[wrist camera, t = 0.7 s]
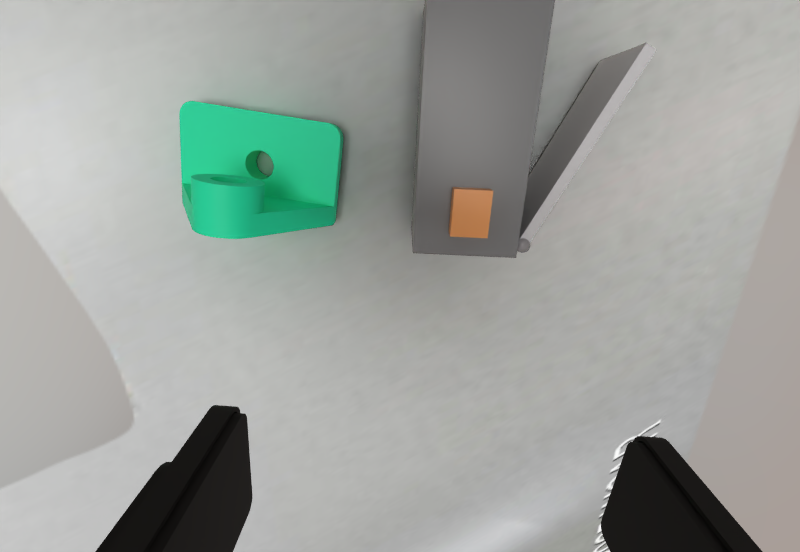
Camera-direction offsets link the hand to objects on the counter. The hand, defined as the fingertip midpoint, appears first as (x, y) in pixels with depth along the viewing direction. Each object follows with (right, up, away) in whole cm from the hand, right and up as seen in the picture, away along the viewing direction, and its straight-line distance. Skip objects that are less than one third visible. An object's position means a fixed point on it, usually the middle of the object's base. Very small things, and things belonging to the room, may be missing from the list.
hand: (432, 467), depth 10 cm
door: (+11, +15, +22) cm, 29 cm away
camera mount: (-12, +14, +23) cm, 30 cm away
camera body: (+4, +17, +21) cm, 28 cm away
